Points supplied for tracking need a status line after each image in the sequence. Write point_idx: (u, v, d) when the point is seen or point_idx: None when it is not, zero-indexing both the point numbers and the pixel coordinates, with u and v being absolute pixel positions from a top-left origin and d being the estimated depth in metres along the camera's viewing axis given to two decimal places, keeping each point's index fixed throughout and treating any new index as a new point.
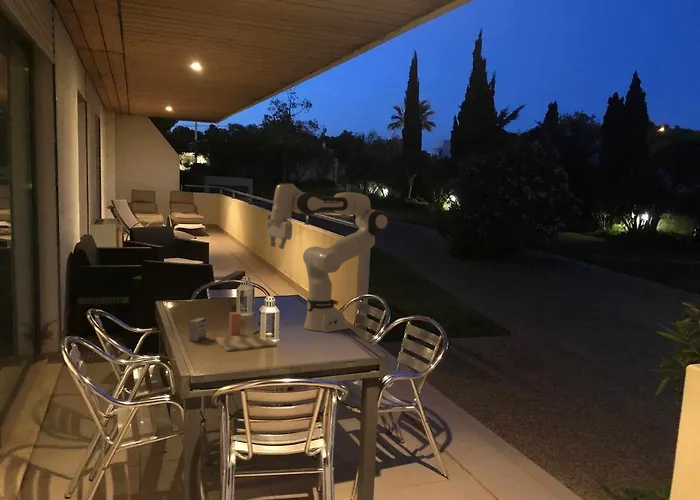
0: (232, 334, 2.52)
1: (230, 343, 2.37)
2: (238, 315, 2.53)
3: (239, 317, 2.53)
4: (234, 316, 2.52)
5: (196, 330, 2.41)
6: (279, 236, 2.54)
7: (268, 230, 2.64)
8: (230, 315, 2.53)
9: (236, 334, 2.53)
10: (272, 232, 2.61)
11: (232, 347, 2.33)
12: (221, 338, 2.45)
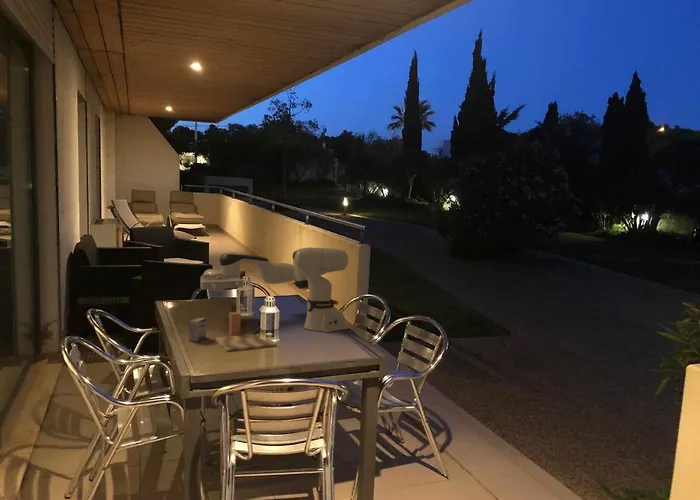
0: (232, 334, 2.52)
1: (230, 343, 2.37)
2: (238, 315, 2.53)
3: (239, 317, 2.53)
4: (234, 316, 2.52)
5: (196, 330, 2.41)
6: (233, 280, 2.70)
7: (206, 280, 2.65)
8: (230, 315, 2.53)
9: (236, 334, 2.53)
10: (215, 280, 2.67)
11: (232, 347, 2.33)
12: (221, 338, 2.45)
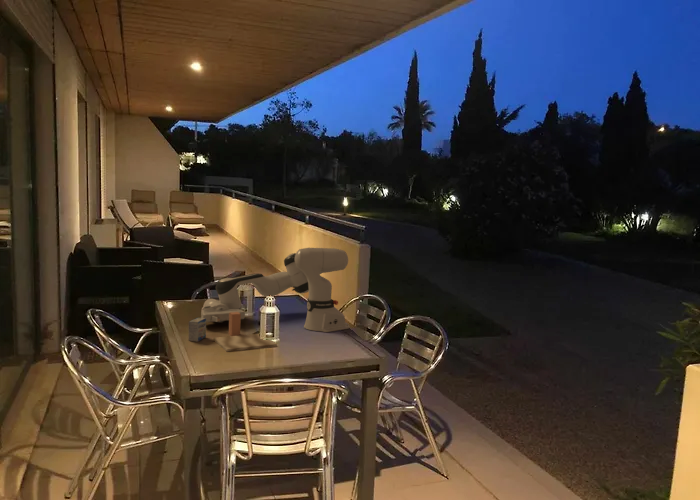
0: (232, 334, 2.52)
1: (230, 343, 2.37)
2: (238, 315, 2.53)
3: (239, 317, 2.53)
4: (234, 316, 2.52)
5: (196, 330, 2.41)
6: None
7: (207, 313, 2.63)
8: (230, 315, 2.53)
9: (236, 334, 2.53)
10: (216, 312, 2.65)
11: (232, 347, 2.33)
12: (221, 338, 2.45)
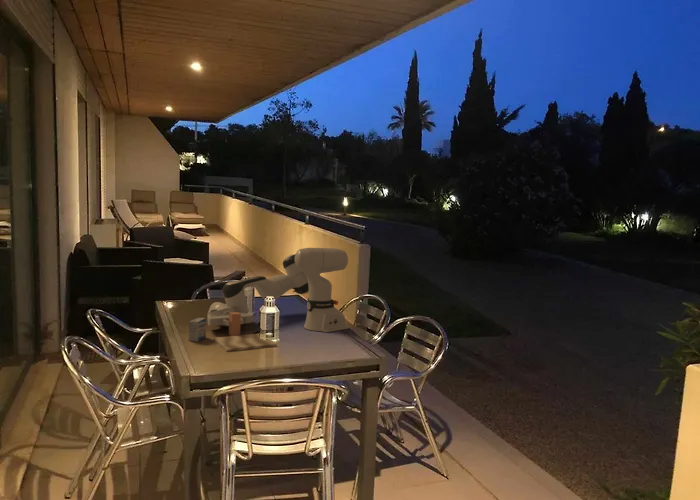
0: (232, 334, 2.52)
1: (230, 343, 2.37)
2: (238, 315, 2.53)
3: (239, 317, 2.53)
4: (234, 316, 2.52)
5: (196, 330, 2.41)
6: (241, 316, 2.60)
7: (213, 317, 2.56)
8: (230, 315, 2.53)
9: (236, 334, 2.53)
10: (223, 316, 2.57)
11: (232, 347, 2.33)
12: (221, 338, 2.45)
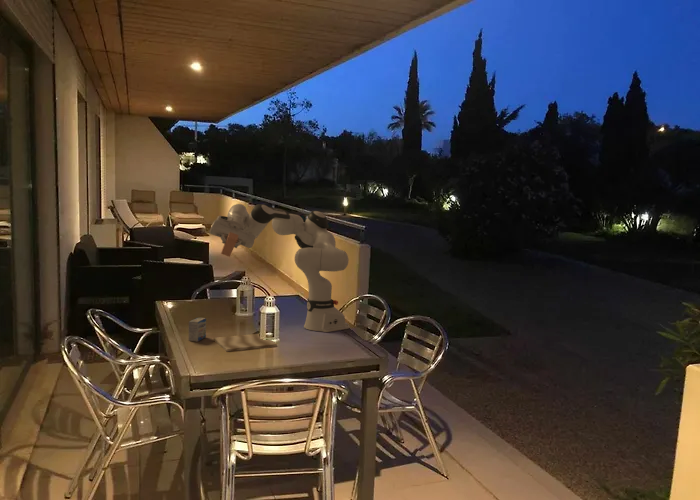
0: (222, 252, 2.51)
1: (230, 343, 2.37)
2: (234, 240, 2.47)
3: (234, 242, 2.48)
4: (230, 239, 2.47)
5: (196, 330, 2.41)
6: (243, 238, 2.55)
7: (217, 226, 2.52)
8: (228, 235, 2.48)
9: (226, 254, 2.52)
10: (225, 230, 2.53)
11: (232, 347, 2.33)
12: (221, 338, 2.45)
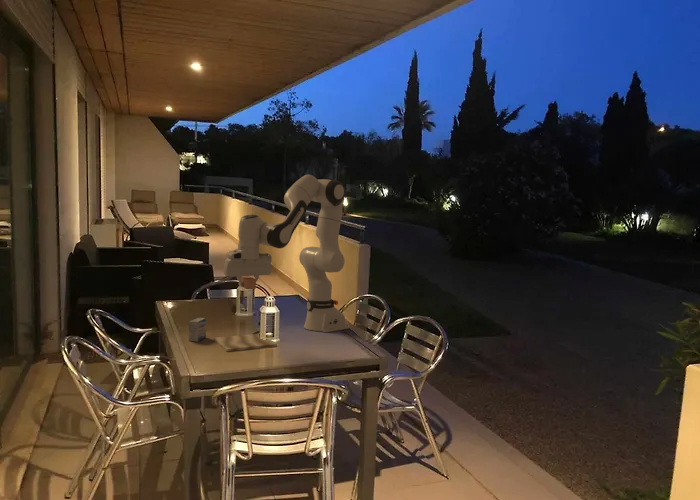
0: None
1: (230, 343, 2.37)
2: None
3: None
4: None
5: (196, 330, 2.41)
6: (260, 273, 2.40)
7: (231, 270, 2.33)
8: (246, 283, 2.35)
9: None
10: (241, 271, 2.35)
11: (232, 347, 2.33)
12: (221, 338, 2.45)
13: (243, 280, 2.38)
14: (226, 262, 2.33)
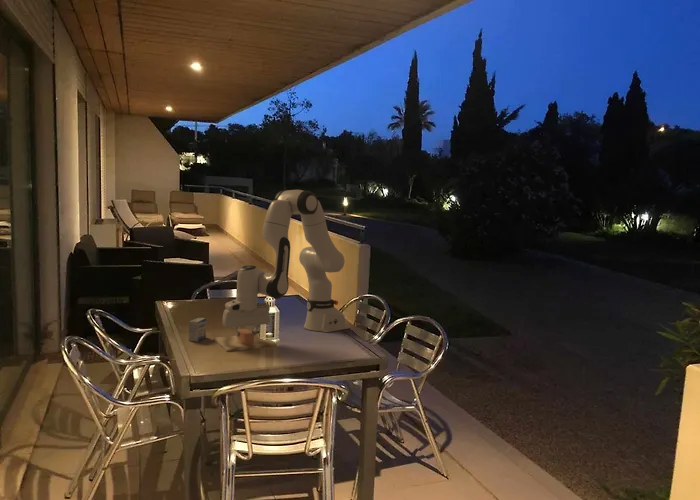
0: None
1: (230, 343, 2.37)
2: None
3: None
4: None
5: (196, 330, 2.41)
6: (258, 323, 2.42)
7: (230, 321, 2.35)
8: (244, 339, 2.38)
9: None
10: (240, 322, 2.38)
11: (232, 347, 2.33)
12: (221, 338, 2.45)
13: (241, 335, 2.41)
14: (225, 313, 2.36)
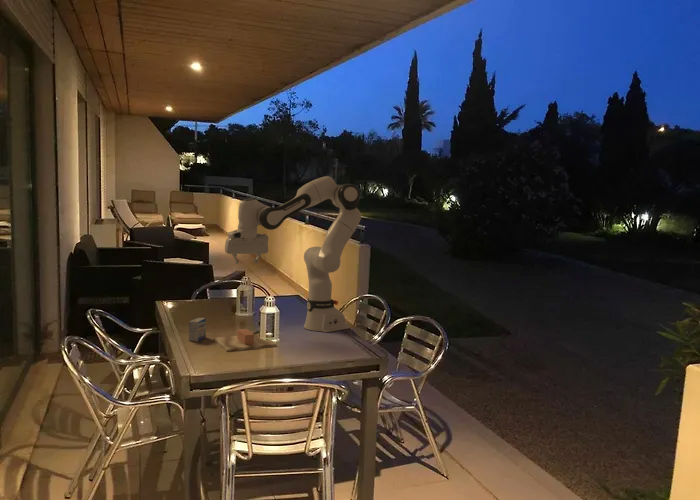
0: None
1: (230, 343, 2.37)
2: None
3: None
4: None
5: (196, 330, 2.41)
6: (258, 252, 2.63)
7: (231, 248, 2.57)
8: (244, 339, 2.38)
9: None
10: (241, 250, 2.59)
11: (232, 347, 2.33)
12: (221, 338, 2.45)
13: (241, 335, 2.41)
14: (227, 241, 2.57)
